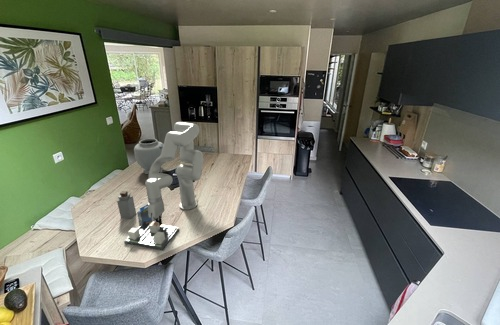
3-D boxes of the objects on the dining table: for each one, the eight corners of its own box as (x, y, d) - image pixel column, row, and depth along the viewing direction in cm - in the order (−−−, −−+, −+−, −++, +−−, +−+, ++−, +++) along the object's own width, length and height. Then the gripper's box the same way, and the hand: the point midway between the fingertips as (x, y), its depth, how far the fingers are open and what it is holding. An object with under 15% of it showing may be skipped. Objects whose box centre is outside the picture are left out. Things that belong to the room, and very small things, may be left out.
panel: (144, 224, 151) (143, 220, 150) (179, 230, 146) (178, 226, 145) (124, 243, 134) (123, 239, 133) (163, 250, 130) (162, 246, 129)
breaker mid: (154, 228, 144) (152, 221, 142) (160, 229, 143) (159, 222, 141) (150, 232, 140) (148, 225, 138) (156, 233, 140) (155, 226, 138)
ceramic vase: (171, 172, 224) (167, 142, 213) (141, 179, 210) (135, 147, 199) (163, 163, 244) (159, 135, 233) (135, 169, 230) (129, 139, 219)
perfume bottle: (126, 212, 162) (121, 189, 156) (136, 213, 162) (131, 189, 156) (121, 218, 156) (115, 194, 149) (131, 218, 156) (126, 194, 149)
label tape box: (150, 216, 159) (147, 200, 154) (154, 218, 157) (151, 202, 152) (138, 223, 152) (135, 206, 147) (143, 225, 150) (139, 208, 145)
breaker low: (134, 234, 139) (132, 227, 137) (140, 235, 138) (138, 228, 136) (129, 238, 135) (127, 231, 133) (135, 240, 134) (134, 232, 132)
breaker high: (158, 238, 135) (157, 231, 134) (165, 239, 135) (164, 232, 133) (154, 243, 132) (153, 236, 130) (161, 244, 131) (160, 237, 129)
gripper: (156, 191, 146) (160, 216, 153) (141, 204, 133) (146, 231, 139) (167, 193, 145) (171, 218, 152) (153, 206, 131) (157, 233, 138)
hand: (159, 224), depth 145 cm, fingers closed
